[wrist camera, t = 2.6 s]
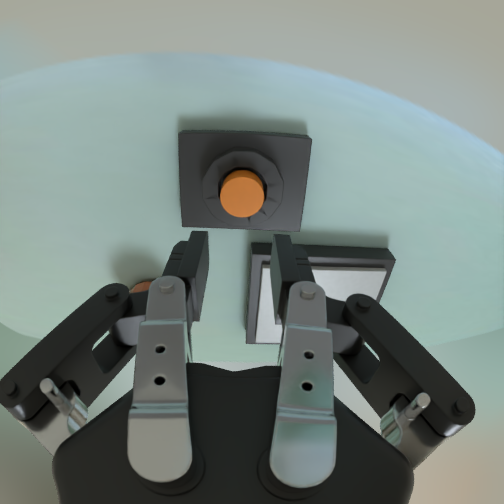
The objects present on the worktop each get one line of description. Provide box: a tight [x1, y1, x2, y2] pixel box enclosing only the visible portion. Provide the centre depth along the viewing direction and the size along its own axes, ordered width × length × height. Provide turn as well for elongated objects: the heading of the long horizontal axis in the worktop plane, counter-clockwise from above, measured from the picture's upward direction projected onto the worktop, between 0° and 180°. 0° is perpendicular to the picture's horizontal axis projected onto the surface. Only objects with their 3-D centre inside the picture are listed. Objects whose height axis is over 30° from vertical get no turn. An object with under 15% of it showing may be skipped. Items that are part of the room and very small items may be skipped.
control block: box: [179, 130, 312, 232], centre depth 21 cm, size 10×8×3 cm
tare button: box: [220, 170, 264, 217], centre depth 20 cm, size 3×3×2 cm
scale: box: [246, 243, 396, 344], centre depth 28 cm, size 14×12×3 cm
